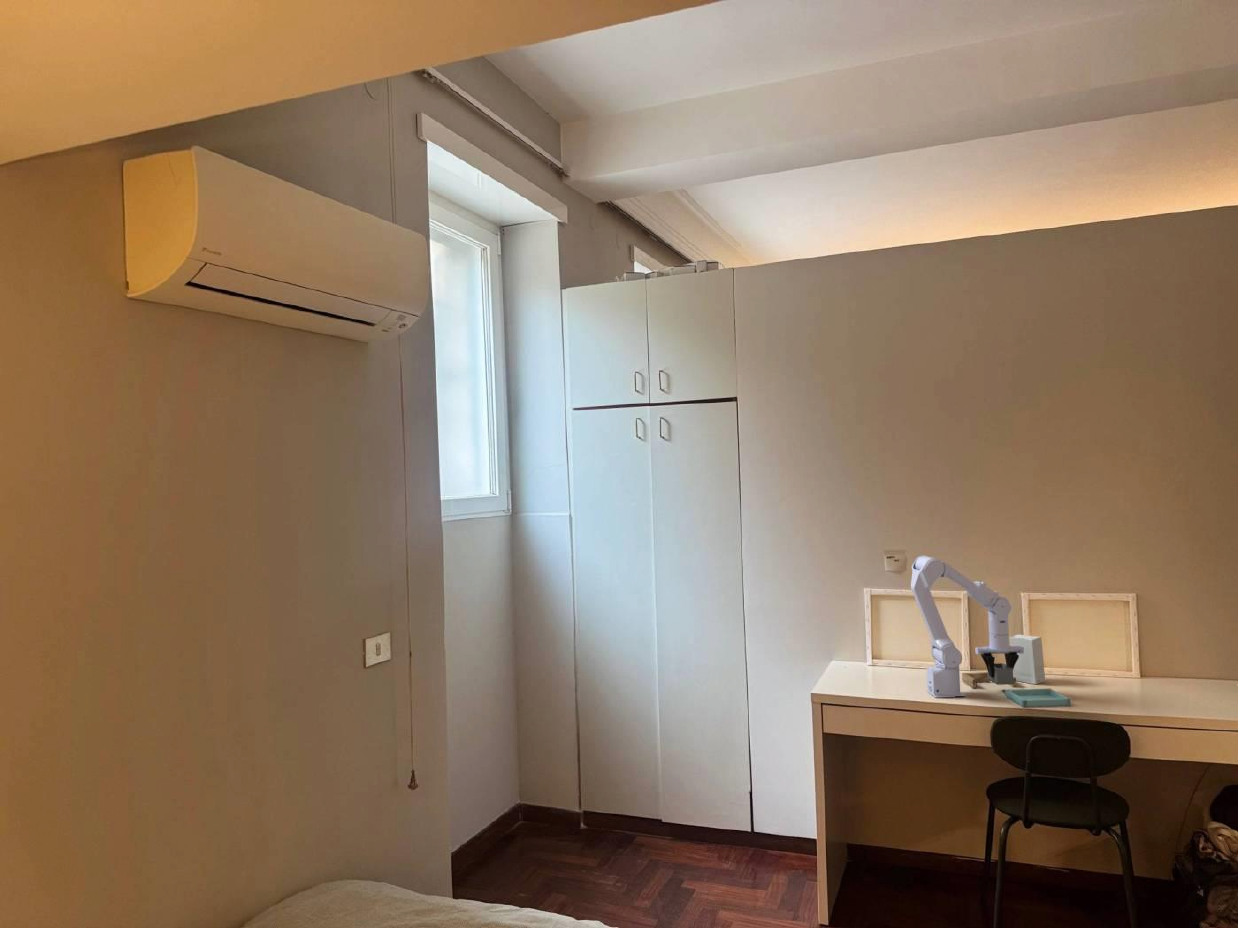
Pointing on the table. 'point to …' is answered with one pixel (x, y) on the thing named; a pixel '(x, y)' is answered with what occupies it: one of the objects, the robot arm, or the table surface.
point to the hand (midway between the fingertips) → (1000, 676)
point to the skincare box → (1029, 659)
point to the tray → (1037, 697)
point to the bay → (979, 679)
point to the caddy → (1002, 674)
